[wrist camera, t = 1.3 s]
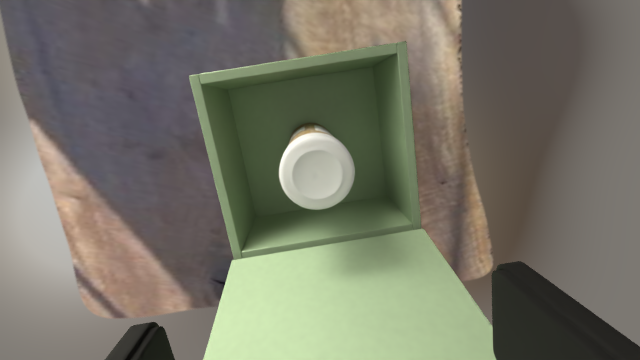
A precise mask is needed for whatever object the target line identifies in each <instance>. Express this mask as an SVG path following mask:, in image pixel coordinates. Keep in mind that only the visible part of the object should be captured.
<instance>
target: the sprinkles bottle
mask: <svg viewBox="0 0 640 360" xmlns="http://www.w3.org/2000/svg"><path fill="white" fill-rule="evenodd" d="M354 177H355V167H354V163H353V159H352V157H351V155H350V153H349V152H348V150H347V149H346V147H345V146H344V145H343V144H342V143H341V142H340V141H339V140H338V139H336V138H335V137H333V136H332V134H331V133H330V132H329V131H328V130H327V129H326V128H325V127H324V126H322V125H320V124H317V123H305V124H302V125H300V126H299V127H297V128H296V129H295V130H294V131H293V132H292V134H291V136H290V139H289V145H288V147H287V148H286V150H285V151H284V153H283V156H282V158H281V162H280V166H279V179H280V183H281V186H282V188H283V190H284V192H285V194H286V195H287V196H288V197H289V198H290V199H291V200H292V201H293V202H294V203H296V204H297V205H299V206H301V207H304V208H307V209H314V210H321V209H326V208H329V207H332V206H334V205H336V204H338V203H339V202H340V201H342V200H343V199H344V198H345V197H346V195H347V194H348V193H349V191H350V189H351V187H352V185H353V182H354Z"/></svg>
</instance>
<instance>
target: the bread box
mask: <svg viewBox="0 0 640 360" xmlns="http://www.w3.org/2000/svg"><path fill="white" fill-rule="evenodd" d="M189 79H190V83H191V87H192V91H193V95H194V99H195V103H196V107H197V111H198V115H199V119H200V123H201V127H202V131H203V136H204V140H205V144H206V148H207V152H208V156H209V160H210V164H211V168H212V172H213V176H214V180H215V184H216V188H217V192H218V196H219V200H220V204H221V208H222V212H223V216H224V220H225V225H226V229H227V233H228V237H229V241H230V245H231V249H232V253H233V257H234V260H237V259H243V258H249V257H255V256H261V255H267V254H273V253H279V252H285V251H291V250H297V249H304V248H310V247H316V246H322V245H328V244H334V243H340V242H346V241H352V240H358V239H364V238H370V237H376V236H382V235H388V234H394V233H400V232H406V231H412V230H418V229H421V217H420V205H419V193H418V180H417V168H416V155H415V143H414V131H413V118H412V106H411V94H410V81H409V69H408V56H407V44H406V41H404V42H398V43H392V44H385V45H379V46H373V47H366V48H360V49H354V50H348V51H341V52H335V53H329V54H322V55H316V56H310V57H304V58H297V59H291V60H285V61H278V62H272V63H266V64H259V65H253V66H247V67H241V68H234V69H228V70H222V71H215V72H209V73H203V74H199V75H198V74H197V75H190V76H189ZM305 123H317V124H320V125H322V126H324V127H325V128H326V129H327V130H328V131H329V132H330V133H331V134H332V136H333V137H335V138H336V139H338V140H339V141H340V142H341V143H342V144H343V145H344V146H345V147H346V149H347V150H348V152H349V153H350V155H351V157H352V159H353V163H354V167H355V177H354V182H353V185H352V187H351V189H350V191H349V193H348V194H347V195H346V197H345V198H344V199H343V200H342V201H340V202H339V203H338V204H336V205H334V206H332V207H329V208H326V209H321V210H314V209H307V208H304V207H301V206H299V205H297V204H296V203H294V202H293V201H292V200H291V199H290V198H289V197H288V196H287V195H286V194H285V192H284V190H283V188H282V186H281V183H280V179H279V166H280V162H281V158H282V156H283V153H284V151H285V150H286V148H287V147H288V145H289V139H290V136H291V134H292V132H293V131H294V130H295V129H296V128H297V127H299V126H300V125H302V124H305Z"/></svg>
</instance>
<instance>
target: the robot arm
mask: <svg viewBox="0 0 640 360" xmlns="http://www.w3.org/2000/svg"><path fill="white" fill-rule="evenodd" d="M492 316H493V318H492V319H493V352H494V355H495V358H496V360H640V347H639V346H638V345H637V344H635V343H634V342H632V341H631V340H630V339H628V338H627V337H626V336H624V335H623V334H621V333H620V332H618V331H617V330H615V329H614V328H613V327H612V326H610V325H609V324H608V323H606V322H605V321H603V320H602V319H601V318H599V317H598V316H596V315H595V314H594V313H592V312H591V311H590V310H588V309H587V308H585V307H584V306H583V305H581V304H580V303H579V302H577V301H576V300H574V299H573V298H572V297H570V296H569V295H567V294H566V293H564V292H563V291H562V290H561V289H559V288H558V287H556V286H555V285H554V284H552V283H551V282H550V281H548V280H547V279H545V278H544V277H543V276H541V275H540V274H538V273H537V272H536V271H534V270H533V269H531V268H530V267H529V266H527V265H526V264H525V263H523V262H519V261H518V262H512V263H505V264H500V265H498V266H497V270H496V271H493V273H492ZM105 360H175V359H174V356H173V353H172V350H171V347H170V344H169V341H168V338H167V335H166V332H165V329H164V328H163V327H161V326H160V327H159V325H158V324H157V323H155V322H151V323H145V324H139V325H134V326H131V327H130V328H129V329H128V331H127V332H126V333H125V335H124V336H123V337H122V338H121V340H120V341H119V342H118V344H117V345H116V346H115V347H114V349H113V350H112V351H111V353H110V354H109V355H108V356H107V358H106V359H105Z"/></svg>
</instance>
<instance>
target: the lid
mask: <svg viewBox="0 0 640 360" xmlns="http://www.w3.org/2000/svg"><path fill="white" fill-rule="evenodd" d="M203 360H496V358H495V355H494V352H493V326H492V325H491V324H490V322H489V321H488V320H487V318H486V316H485V315H484V314H483V312H482V311H481V309H480V308H479V307H478V305H477V304H476V302H475V301H474V300H473V298H472V297H471V295H470V294H469V292H468V291H467V289H466V288H465V287H464V285H463V284H462V282H461V281H460V280H459V278H458V277H457V275H456V274H455V272H454V271H453V270H452V268H451V267H450V265H449V264H448V263H447V261H446V260H445V258H444V257H443V255H442V254H441V253H440V251H439V250H438V248H437V247H436V245H435V244H434V243H433V241H432V240H431V238H430V237H429V236H428V234H427V233H426V231H425V230H424V229H418V230H412V231H406V232H400V233H394V234H388V235H382V236H376V237H370V238H364V239H358V240H352V241H346V242H340V243H334V244H328V245H322V246H316V247H310V248H304V249H297V250H291V251H285V252H279V253H273V254H267V255H261V256H255V257H249V258H243V259H237V260H232V262H231V266H230V269H229V273H228V276H227V280H226V283H225V286H224V290H223V293H222V297H221V300H220V304H219V307H218V311H217V314H216V318H215V321H214V325H213V328H212V332H211V335H210V339H209V342H208V346H207V349H206V352H205V356H204V359H203Z"/></svg>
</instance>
